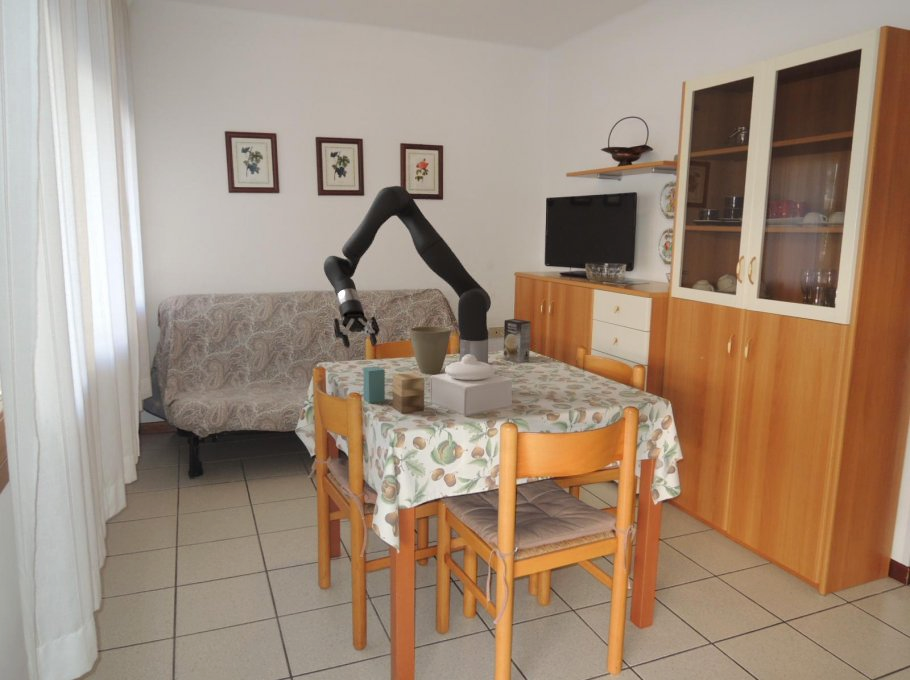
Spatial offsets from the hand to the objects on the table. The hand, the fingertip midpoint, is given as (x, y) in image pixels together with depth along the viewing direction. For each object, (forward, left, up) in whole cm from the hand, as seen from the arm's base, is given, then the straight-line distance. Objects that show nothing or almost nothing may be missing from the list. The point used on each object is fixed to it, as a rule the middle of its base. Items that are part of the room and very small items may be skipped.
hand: (361, 345), depth 213 cm
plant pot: (-24, -28, -15) cm, 40 cm away
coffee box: (-60, -47, -15) cm, 78 cm away
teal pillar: (-4, +11, -15) cm, 19 cm away
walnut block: (-14, +21, -15) cm, 30 cm away
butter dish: (-33, +18, -16) cm, 41 cm away
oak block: (-14, +21, -10) cm, 27 cm away
